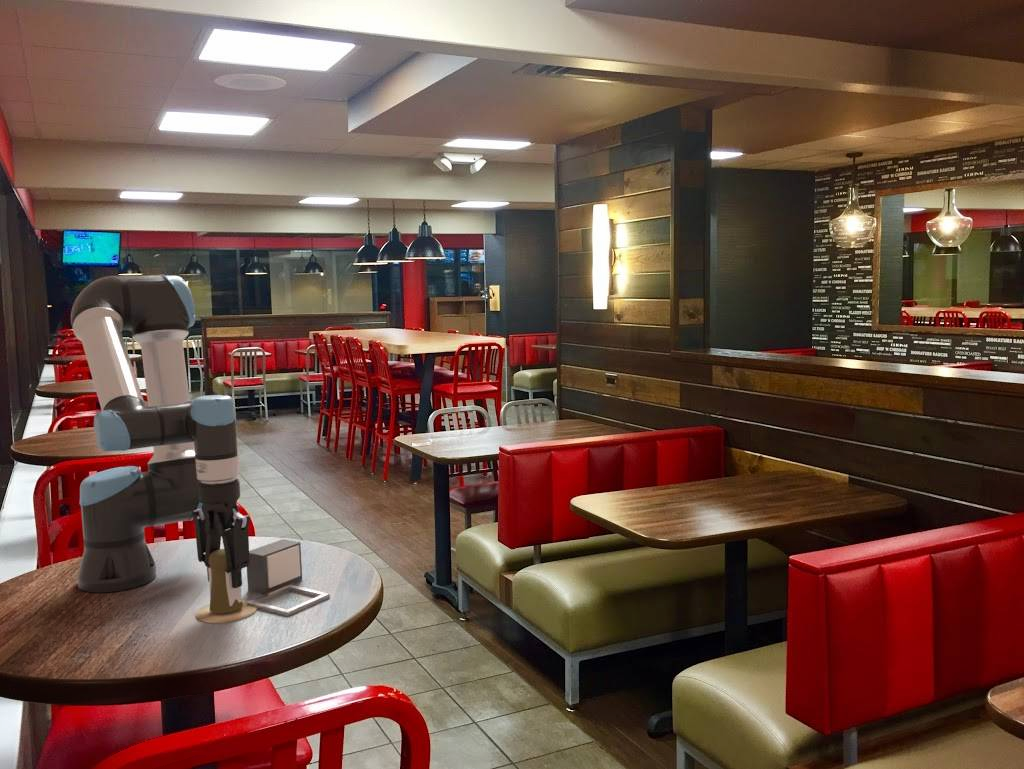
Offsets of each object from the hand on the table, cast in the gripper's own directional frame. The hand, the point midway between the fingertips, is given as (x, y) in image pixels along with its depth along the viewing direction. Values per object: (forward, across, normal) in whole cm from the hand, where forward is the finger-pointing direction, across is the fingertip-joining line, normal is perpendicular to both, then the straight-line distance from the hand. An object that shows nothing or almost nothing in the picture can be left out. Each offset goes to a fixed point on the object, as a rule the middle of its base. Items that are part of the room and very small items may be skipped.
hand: (226, 601), depth 166 cm
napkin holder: (+2, -3, +15) cm, 15 cm away
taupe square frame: (+2, +6, +10) cm, 12 cm away
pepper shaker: (+1, 0, 0) cm, 1 cm away
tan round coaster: (+2, 0, 0) cm, 2 cm away
